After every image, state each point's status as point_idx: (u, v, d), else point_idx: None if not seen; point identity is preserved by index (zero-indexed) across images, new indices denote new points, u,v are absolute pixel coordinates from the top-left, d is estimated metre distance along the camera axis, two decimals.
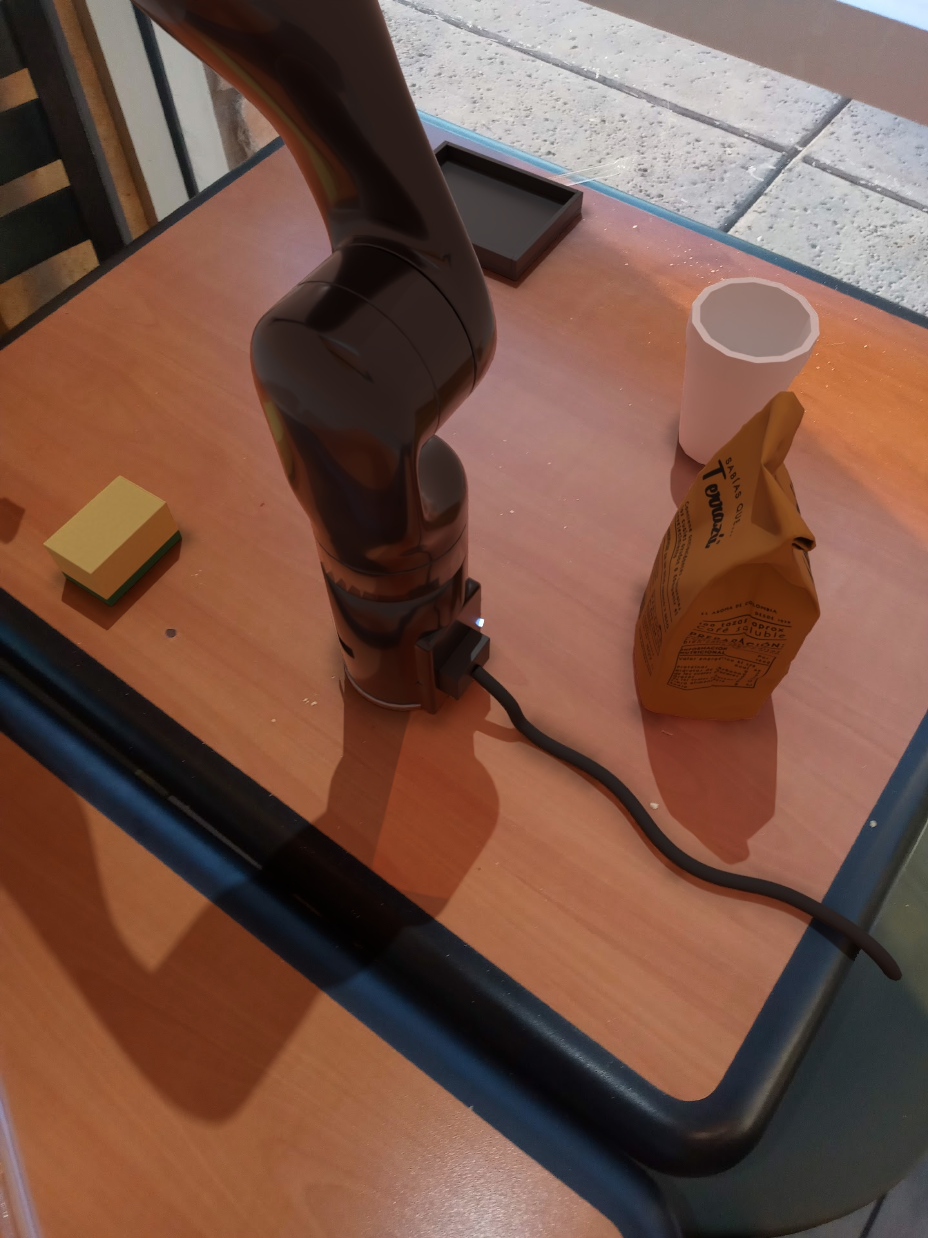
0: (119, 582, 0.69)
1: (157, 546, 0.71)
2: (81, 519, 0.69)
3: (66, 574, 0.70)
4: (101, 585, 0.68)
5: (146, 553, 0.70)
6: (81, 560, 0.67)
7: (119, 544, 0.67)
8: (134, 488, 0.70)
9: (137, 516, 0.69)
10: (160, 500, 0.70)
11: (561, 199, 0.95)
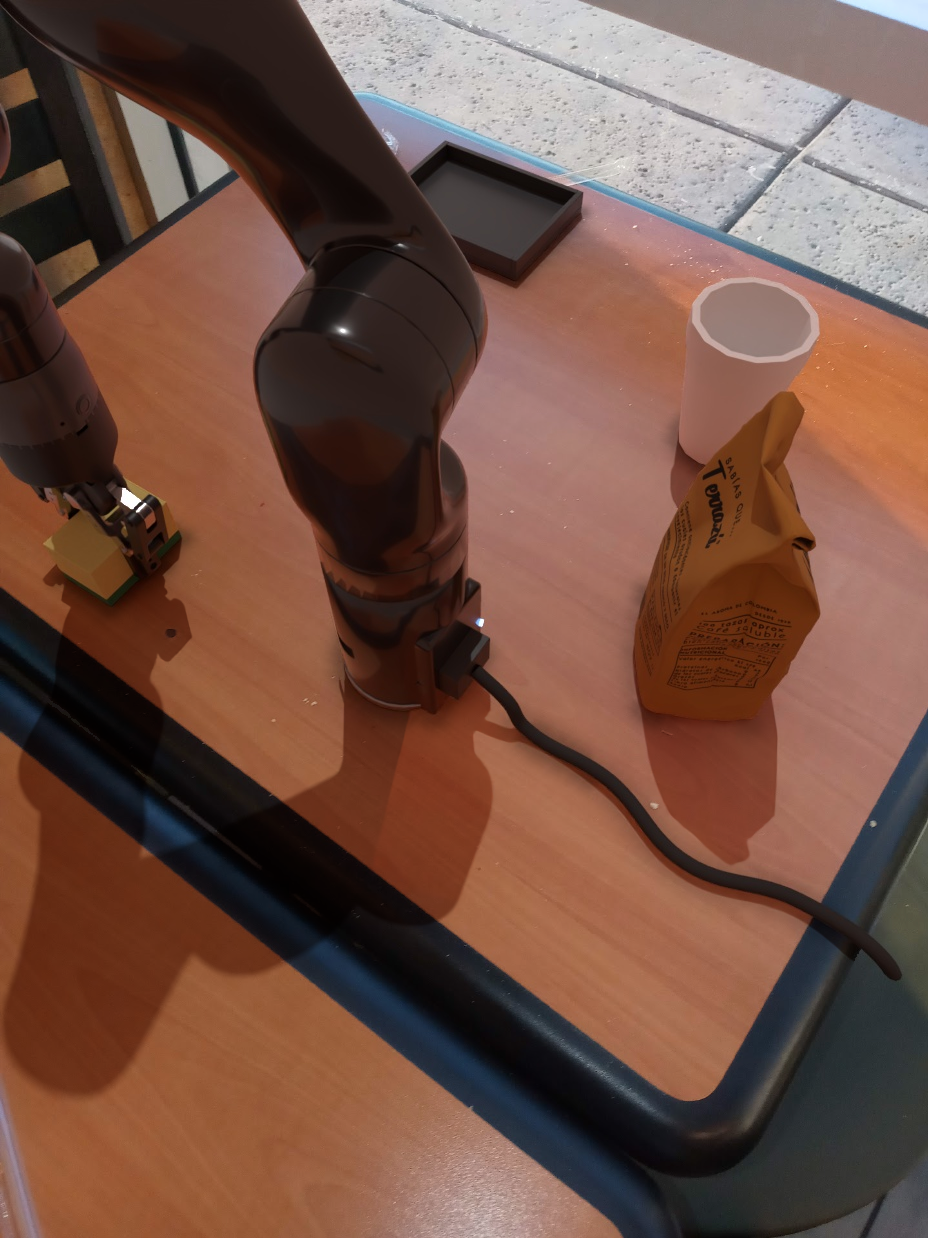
0: (119, 582, 0.69)
1: None
2: (81, 519, 0.69)
3: (66, 574, 0.70)
4: (101, 585, 0.68)
5: None
6: (81, 560, 0.67)
7: None
8: (134, 488, 0.70)
9: None
10: (160, 500, 0.70)
11: (561, 199, 0.95)
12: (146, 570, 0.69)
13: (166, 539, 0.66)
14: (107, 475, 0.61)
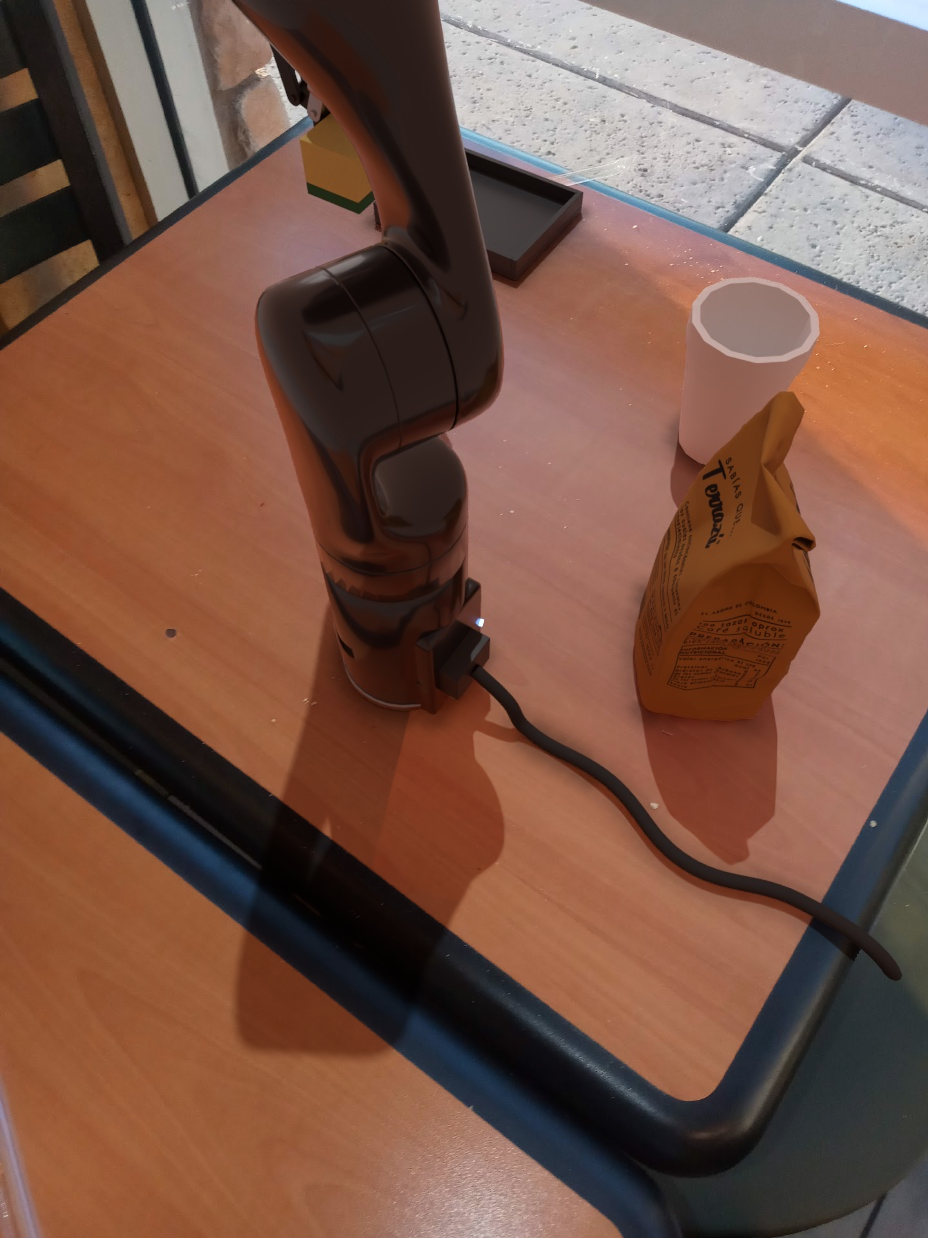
0: (369, 186, 0.70)
1: None
2: (332, 120, 0.69)
3: (312, 184, 0.71)
4: (357, 180, 0.68)
5: None
6: (342, 150, 0.67)
7: None
8: None
9: None
10: None
11: (561, 199, 0.95)
12: None
13: None
14: None
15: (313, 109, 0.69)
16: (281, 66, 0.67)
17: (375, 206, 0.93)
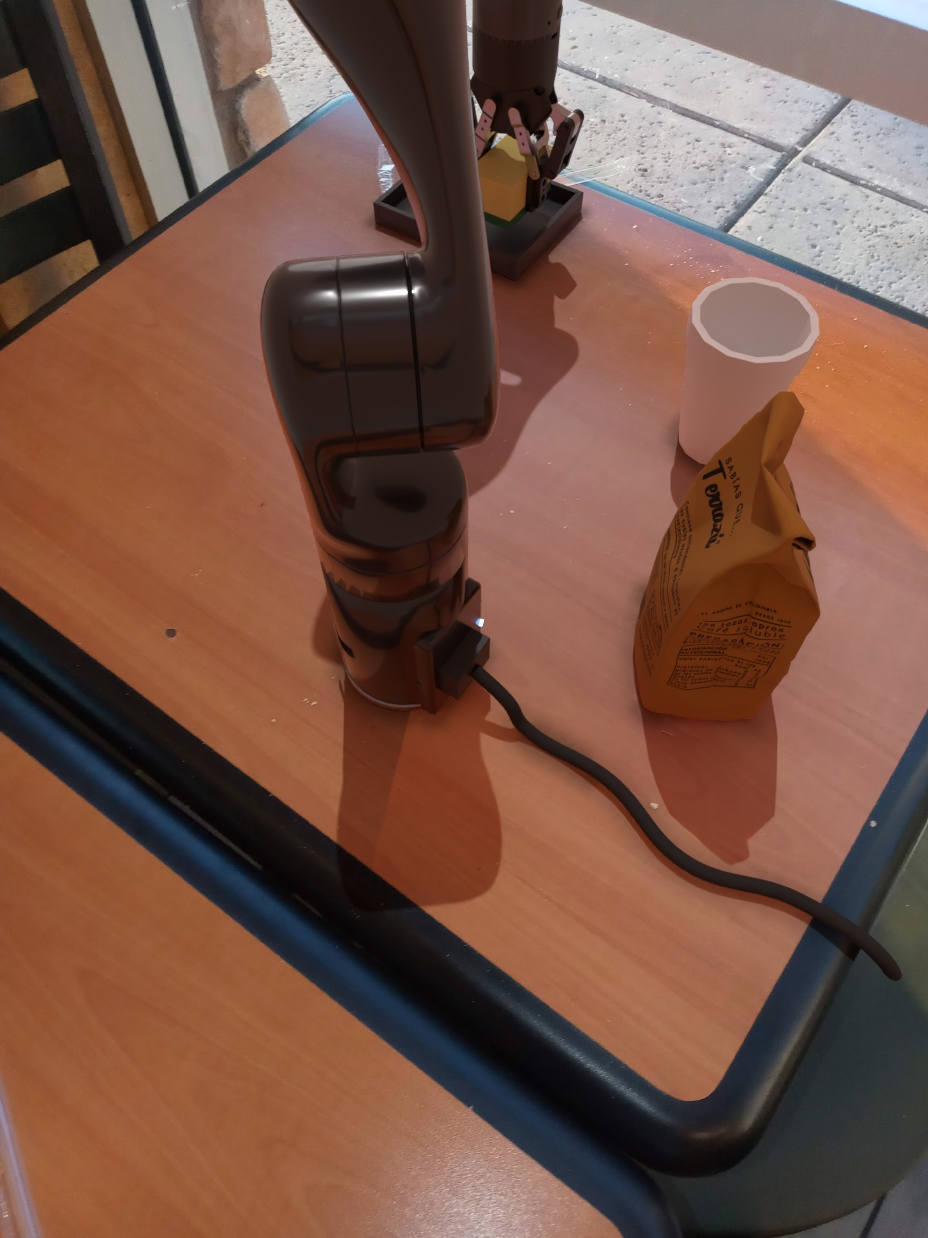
0: (518, 208, 0.88)
1: None
2: (491, 156, 0.88)
3: None
4: (511, 204, 0.87)
5: None
6: (501, 180, 0.86)
7: (526, 171, 0.86)
8: None
9: None
10: (548, 145, 0.89)
11: (561, 199, 0.95)
12: (539, 199, 0.88)
13: (568, 163, 0.85)
14: (551, 88, 0.80)
15: (476, 148, 0.87)
16: None
17: (375, 206, 0.93)
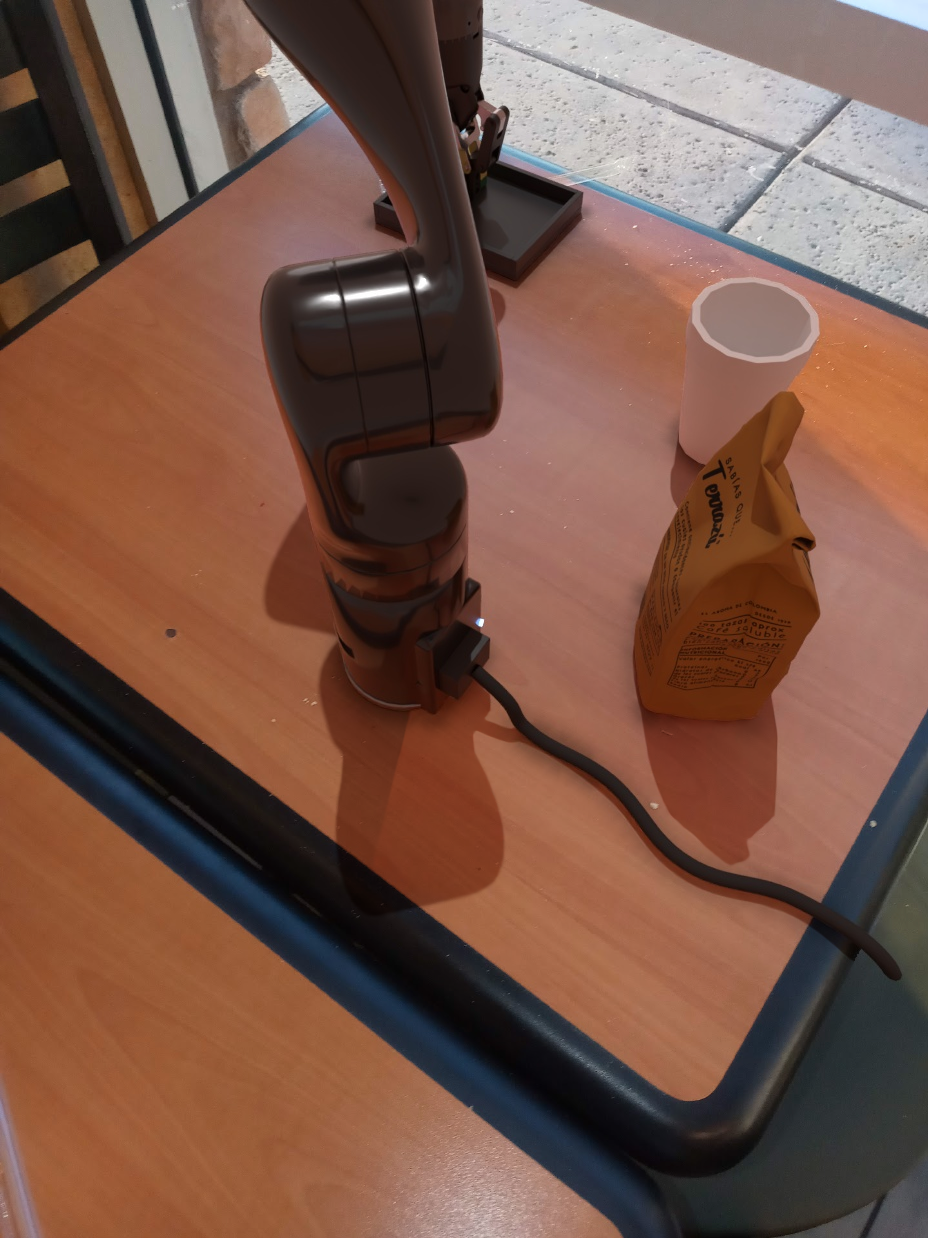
0: None
1: None
2: None
3: None
4: None
5: None
6: None
7: None
8: None
9: None
10: None
11: (561, 199, 0.95)
12: (473, 192, 0.92)
13: (498, 157, 0.90)
14: (476, 85, 0.84)
15: None
16: None
17: (375, 206, 0.93)
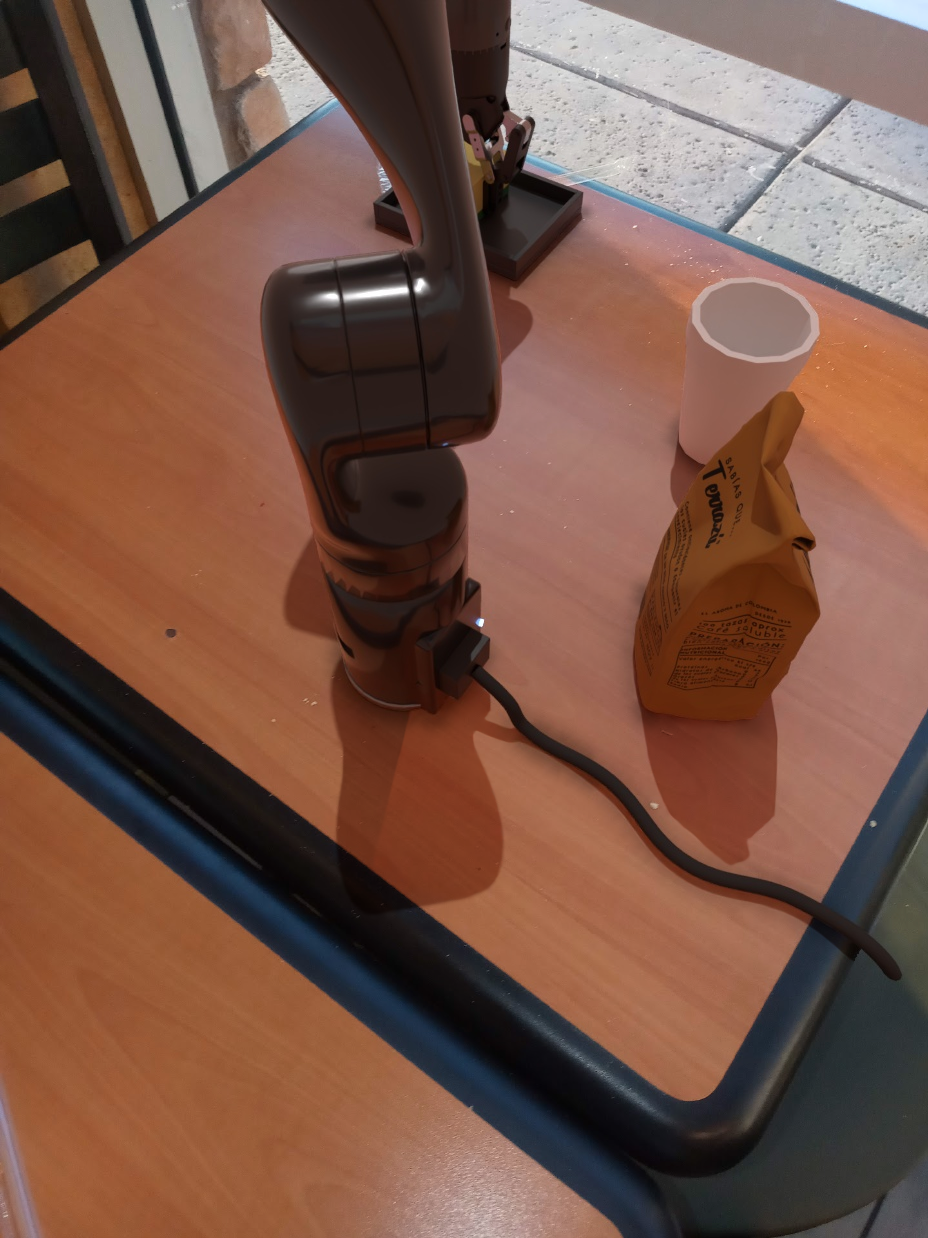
0: None
1: None
2: None
3: None
4: None
5: None
6: None
7: (482, 175, 0.90)
8: None
9: None
10: (505, 150, 0.92)
11: (561, 199, 0.95)
12: (495, 202, 0.92)
13: (522, 167, 0.89)
14: (502, 96, 0.83)
15: None
16: None
17: (375, 206, 0.93)
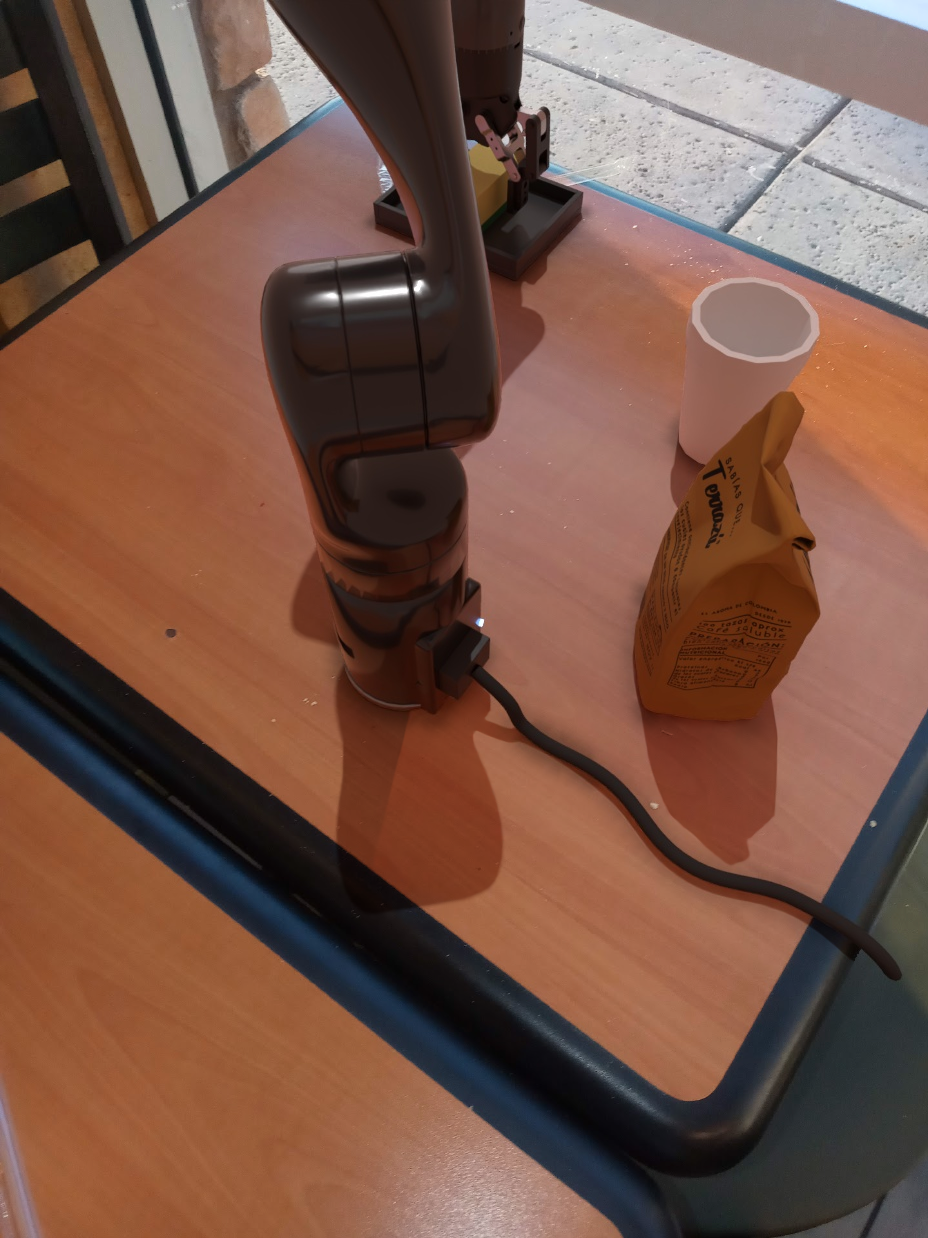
0: (485, 217, 0.91)
1: None
2: None
3: None
4: None
5: (501, 200, 0.92)
6: None
7: (493, 181, 0.89)
8: None
9: (500, 165, 0.91)
10: (514, 156, 0.92)
11: (561, 199, 0.95)
12: (520, 201, 0.90)
13: (548, 163, 0.87)
14: (515, 96, 0.82)
15: None
16: None
17: (375, 206, 0.93)
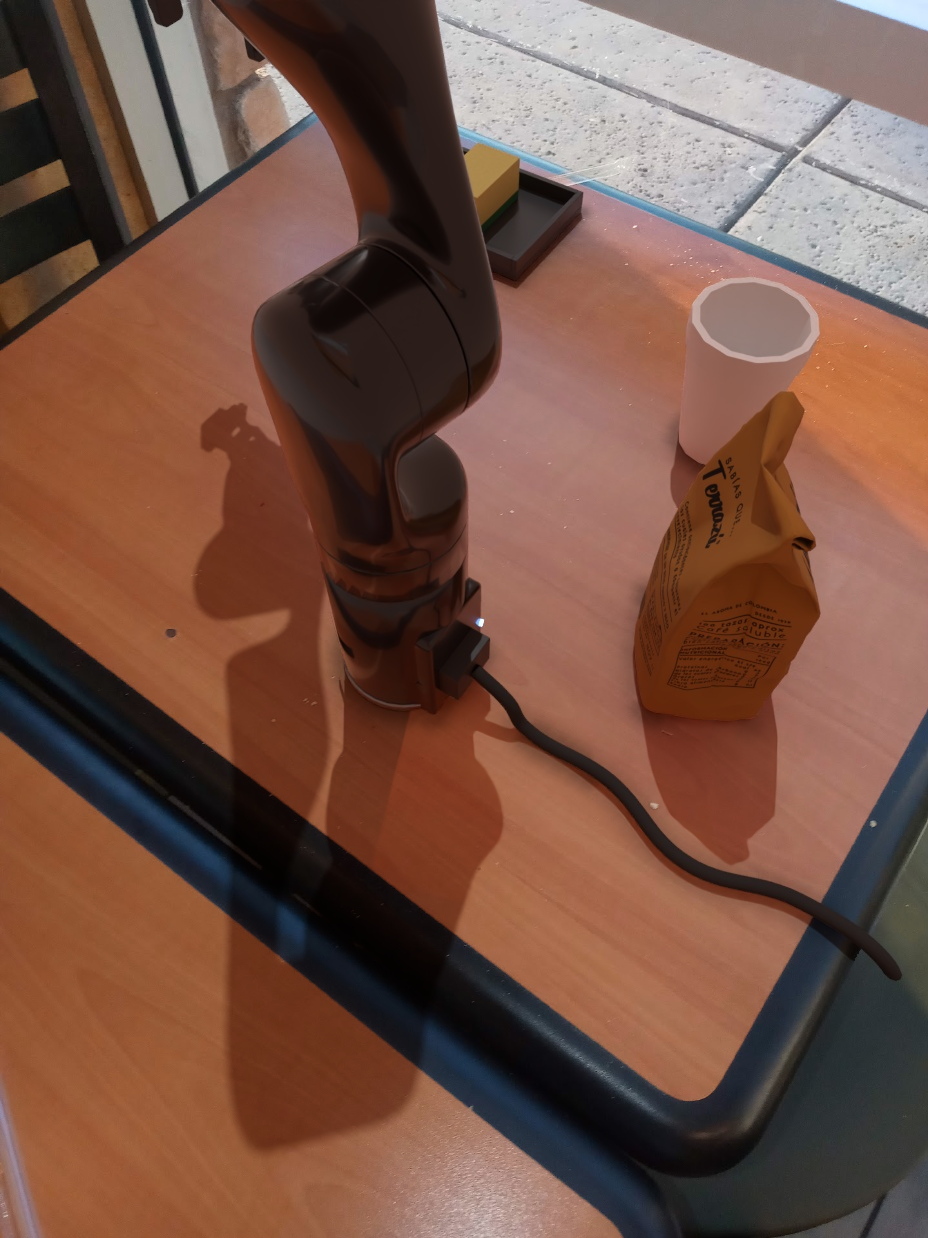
0: (485, 217, 0.91)
1: (507, 197, 0.93)
2: None
3: None
4: (478, 213, 0.90)
5: (501, 200, 0.92)
6: None
7: (493, 181, 0.89)
8: (493, 149, 0.92)
9: (500, 165, 0.91)
10: (514, 156, 0.92)
11: (561, 199, 0.95)
12: None
13: None
14: None
15: None
16: None
17: None
